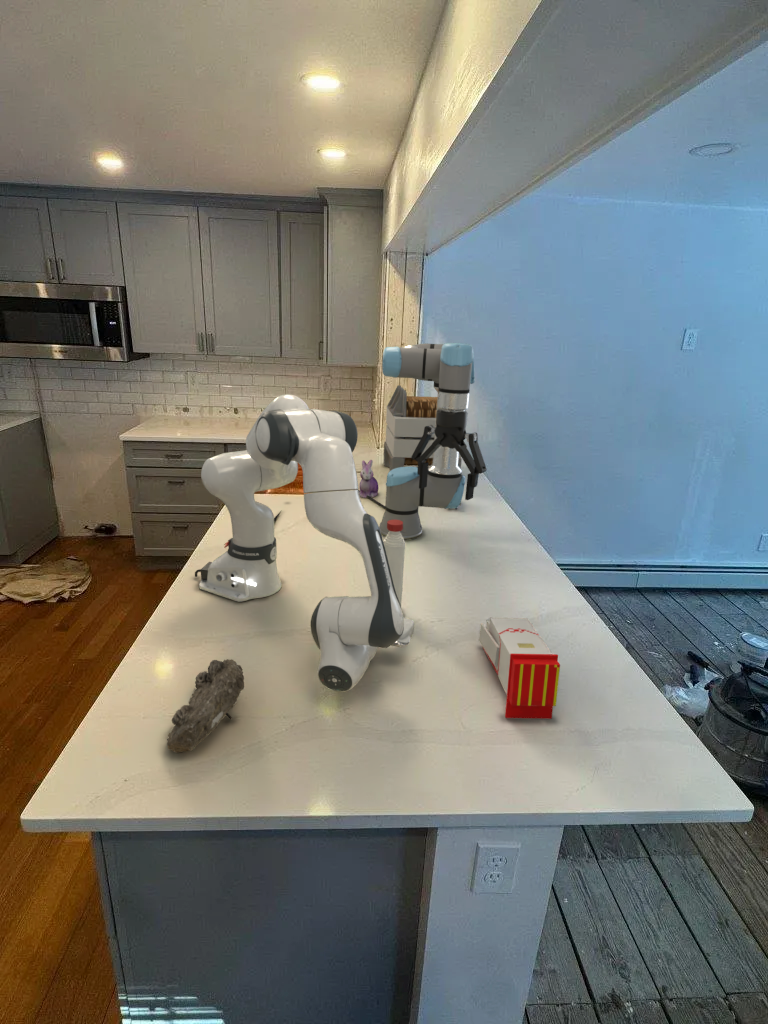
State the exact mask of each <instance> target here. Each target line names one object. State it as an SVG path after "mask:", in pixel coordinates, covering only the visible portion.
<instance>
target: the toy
mask: <svg viewBox="0 0 768 1024" xmlns="http://www.w3.org/2000/svg"><path fill="white" fill-rule="evenodd" d="M478 642H479V644H480V645H481V647H482V649H483V651H484V653H485V655H486V656H487V659H488V661H489V662H490V664H491V666H492V667H493V669H494V671H495V673H496V675H497V678H498V679H499V682H500V684H501V686H502V688H503V690H504V692H505V694H506V695H505V696H506V701H505V711H504V717H505V719H535V720H536V719H537V720H538V719H539V720H540V719H541V720H552V719H553V710H554V707H556V706H557V699H558V691H559V682H560V681H559V679H560V670H561V664H560V662H559V655H558V654H555V653H552V651H551V649H550V648H549V647H548V645H547V643H545V641H544V640H543V638H542V637H541V636H540V634H539V633H538V631H537V630H536V628H535V626H534V625H533V623H532V622H531V621H530V620H529V618H528V617H493V616H492V617H489V619H486V623H485V624H484V623H482V622H481V623H480V627H479V635H478Z"/></svg>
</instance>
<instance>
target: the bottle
mask: <svg viewBox="0 0 768 1024" xmlns="http://www.w3.org/2000/svg"><path fill="white" fill-rule="evenodd" d="M383 543H384V546H385V550H386V554H387V559H388V563H389V567H390V571H391V575H392V579H393V583H394V587H395V591H396V594H397V597H398V600H399V602H400V605H401V606H402V603H403V602H402V601H403V600H402V599H403V584H404V568H405V551H406V540H404V539H403V537H402V535H401V533H400V531H399V532H393V531H389V532H388V534H387V536H386V537H384V539H383Z"/></svg>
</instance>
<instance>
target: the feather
mask: <svg viewBox="0 0 768 1024" xmlns="http://www.w3.org/2000/svg"><path fill="white" fill-rule="evenodd" d="M281 512H282V510H280V512H279V513H277V514H276V516H274V524H275V523H276V521H277V520H278V518H279V516H280V514H281Z"/></svg>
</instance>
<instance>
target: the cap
mask: <svg viewBox="0 0 768 1024" xmlns="http://www.w3.org/2000/svg"><path fill="white" fill-rule="evenodd" d="M387 529H388V530H389V531H393V532H399V531H402V530H403V522H402V521H400V520H389V521H388V522H387Z"/></svg>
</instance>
